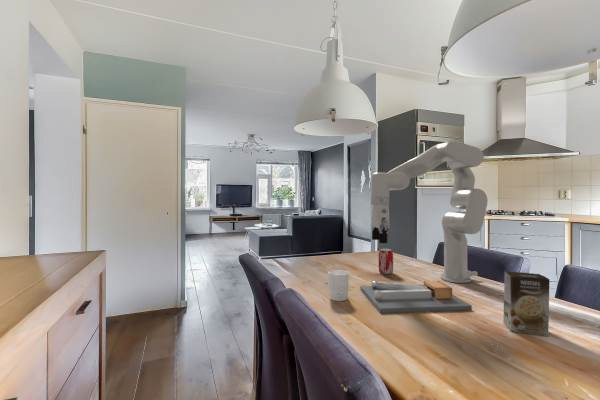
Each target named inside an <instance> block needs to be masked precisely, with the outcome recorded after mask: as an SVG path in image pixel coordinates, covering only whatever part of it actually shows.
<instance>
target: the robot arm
mask: <svg viewBox="0 0 600 400" xmlns="http://www.w3.org/2000/svg"><path fill="white" fill-rule="evenodd" d="M484 159H485V157H484V153H483V151H482V150H481V149H480V148H478V147H476V146H474V145H470V144H466V143H463V142H460V141H455V140H449V141H444V142H441V143H437V144H435V145H433V146H432V147H430V148H428V149H427V150H425V151H423V152H422V153H420V154H419V155H417V156H415V157H414V158H411V159H409V160H407V162H404V163H403V164H400V165H398V166H396V167H395V168H393V169H391V170H389V171H388V172H382V171H381V172H373V173H372V175H371V184H370V185H371V186H370V187H371V188H370V205H372V209H371V226H372V228H371V240H373V241H379V244H387V243H388V233H389V229H390V208H389V207H390V191H402V190H405V189H406V188H408V187H409V185H410V182H411V180H410V179H413V178H417V177H419V176H420V177H421V176H423V175H425V174H426V175H427V174H428V173H429V172H430V171H432V170H434V169H435V168H437V167H438V166H440V165H441V164H443V163H445V162H446V164H447V166H448V168H449V169H450V170H451V172H452V175H453V178H454V180H453V185H452V190H451V193H450V194H451V195H450V199H449V203H450V206H451V207H452V208H454V209H458V210H465V212H464V211H458V210H457V211H454V210H453V211H448V212H446V213H445V214H443V216H442V218H441V225H442V232H443V240H444V241H443V247H444V248H443V256H444V257H443V265H444V266H443V273H441V274H440V279H441V280H443V281H446V282H450V283H457V284H466V283H471V282H472V278H471V277H474V276H478V274H479V273H478V271H471V270H469V269H468V238H467V237H466V235H476V234H478V233H479V232H480V231H481V230H482V228H483V225H484V221H485V216H486V212H487V208H488V196H487V194H486V192H485V191H484V190H483V189H481V188H475V183H476V177H475V174H474V172H473V171H472V169H471V168H476V167H479V166H480V165H482V163H483V161H484Z"/></svg>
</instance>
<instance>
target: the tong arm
mask: <svg viewBox="0 0 600 400" xmlns="http://www.w3.org/2000/svg"><path fill="white" fill-rule="evenodd" d="M422 285H423V284H408V283H400V282H391V281H379V280H378V281H377V280H372V281H371V286H372V288H377V289H387V290H417V289H427V286H422Z"/></svg>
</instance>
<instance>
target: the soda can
mask: <svg viewBox="0 0 600 400" xmlns="http://www.w3.org/2000/svg"><path fill="white" fill-rule="evenodd" d="M393 272H394V253H393V251H392V249H391V248H386V247H384V248H382V247H381V248H379V252H378V273H380V274H383V275H391V274H393Z"/></svg>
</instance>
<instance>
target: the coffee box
mask: <svg viewBox="0 0 600 400" xmlns="http://www.w3.org/2000/svg"><path fill="white" fill-rule="evenodd" d="M550 281H551V279H549V278H548V277H547V276H545V275H542V274H540V273H531V272H519V271H509V270H504V285H503V286H504V287H503V288H504V289H503V290H504V291H503V324H504V325H505V326H506V328H507V329H508V330H509V332H512V331H513V332H514V333H520V334H521V333H522V334H527V333H528V334H529V335H534V334H536V335H535V336H542V335H544V336H543V337H549V326H550V325H549V324H550V323H549V322H550V321H549V319H550V317H549V315H550V314H549V313H550Z"/></svg>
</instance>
